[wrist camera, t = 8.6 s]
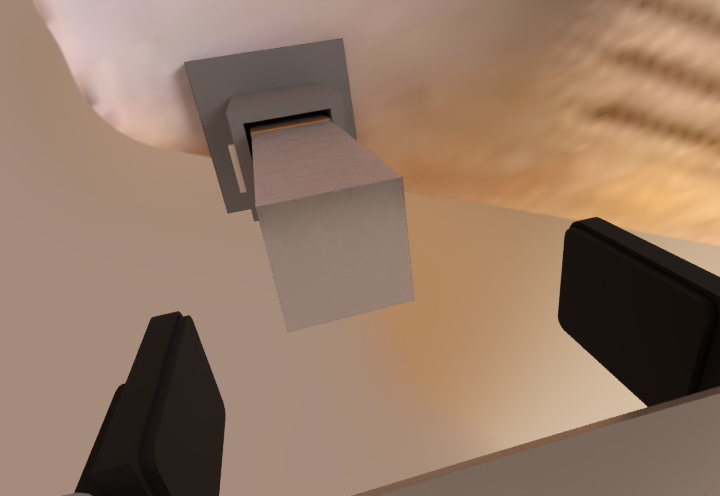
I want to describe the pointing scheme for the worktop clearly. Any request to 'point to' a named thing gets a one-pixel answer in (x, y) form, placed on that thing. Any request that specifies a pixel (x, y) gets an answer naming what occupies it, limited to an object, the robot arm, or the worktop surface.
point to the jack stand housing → (264, 103)
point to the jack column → (329, 221)
